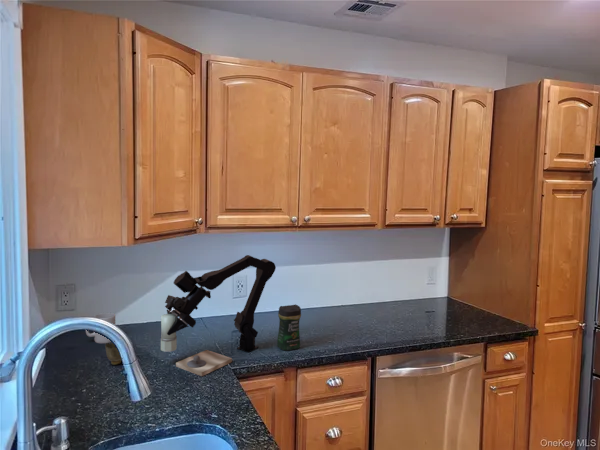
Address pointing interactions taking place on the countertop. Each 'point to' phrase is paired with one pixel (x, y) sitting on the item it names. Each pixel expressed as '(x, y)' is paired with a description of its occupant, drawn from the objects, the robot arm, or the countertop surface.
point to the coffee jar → (289, 327)
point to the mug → (99, 338)
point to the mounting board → (204, 362)
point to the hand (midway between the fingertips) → (165, 332)
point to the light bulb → (167, 340)
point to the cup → (112, 354)
